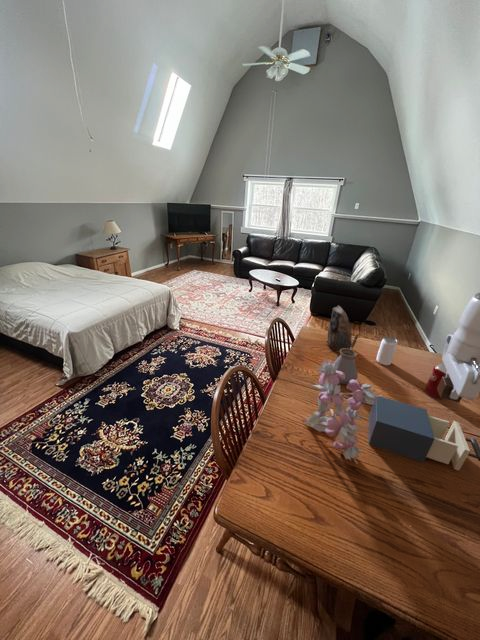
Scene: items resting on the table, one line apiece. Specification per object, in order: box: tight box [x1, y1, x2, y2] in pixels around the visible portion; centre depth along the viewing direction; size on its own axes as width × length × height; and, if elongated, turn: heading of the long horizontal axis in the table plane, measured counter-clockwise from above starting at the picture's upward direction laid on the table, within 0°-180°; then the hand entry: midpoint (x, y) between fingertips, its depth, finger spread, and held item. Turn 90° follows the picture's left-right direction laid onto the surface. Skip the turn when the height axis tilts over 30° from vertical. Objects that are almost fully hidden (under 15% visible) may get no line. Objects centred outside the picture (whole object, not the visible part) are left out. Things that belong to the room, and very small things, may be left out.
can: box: [375, 336, 398, 366], centre depth 123 cm, size 6×6×12 cm
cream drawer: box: [426, 414, 480, 471], centre depth 79 cm, size 18×11×8 cm, turn 66°
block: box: [437, 376, 463, 404], centre depth 77 cm, size 5×5×5 cm
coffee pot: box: [332, 333, 360, 385], centre depth 113 cm, size 21×12×15 cm, turn 146°
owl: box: [326, 304, 353, 353], centre depth 134 cm, size 13×13×20 cm
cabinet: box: [368, 395, 435, 463], centre depth 83 cm, size 15×13×10 cm
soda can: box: [424, 363, 447, 400], centre depth 104 cm, size 7×7×12 cm
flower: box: [301, 357, 382, 464], centre depth 80 cm, size 20×22×25 cm
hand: (450, 391), depth 78 cm, fingers closed on block, 4 cm apart
